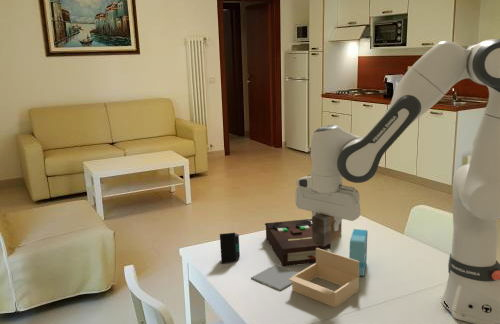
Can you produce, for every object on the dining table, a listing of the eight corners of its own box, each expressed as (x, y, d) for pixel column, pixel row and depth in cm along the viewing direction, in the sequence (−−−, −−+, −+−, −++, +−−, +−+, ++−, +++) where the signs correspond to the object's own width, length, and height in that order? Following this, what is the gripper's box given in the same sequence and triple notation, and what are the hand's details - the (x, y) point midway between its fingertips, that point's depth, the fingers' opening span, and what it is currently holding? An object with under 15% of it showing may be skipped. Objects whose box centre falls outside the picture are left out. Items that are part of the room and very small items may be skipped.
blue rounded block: (363, 277, 146) (364, 242, 143) (348, 276, 147) (349, 241, 145) (366, 261, 157) (367, 228, 154) (352, 260, 158) (353, 227, 156)
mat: (304, 276, 148) (304, 275, 147) (280, 290, 139) (280, 289, 139) (275, 265, 156) (275, 264, 156) (251, 278, 147) (251, 277, 147)
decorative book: (281, 250, 151) (261, 219, 180) (281, 271, 153) (261, 237, 181) (336, 244, 154) (308, 214, 183) (336, 265, 156) (308, 232, 185)
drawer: (358, 290, 138) (359, 261, 136) (330, 311, 127) (330, 279, 125) (316, 275, 148) (316, 247, 146) (287, 293, 138) (286, 263, 136)
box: (341, 236, 137) (341, 211, 135) (323, 246, 130) (323, 219, 129) (329, 233, 140) (329, 208, 138) (312, 243, 133) (311, 216, 131)
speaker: (237, 264, 157) (235, 234, 156) (221, 264, 158) (219, 234, 157) (241, 256, 165) (240, 228, 163) (226, 256, 166) (224, 228, 164)
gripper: (365, 185, 126) (364, 233, 129) (304, 175, 140) (305, 218, 143) (353, 191, 122) (352, 240, 125) (291, 179, 136) (292, 223, 139)
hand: (326, 228), depth 134 cm, fingers closed on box, 4 cm apart
